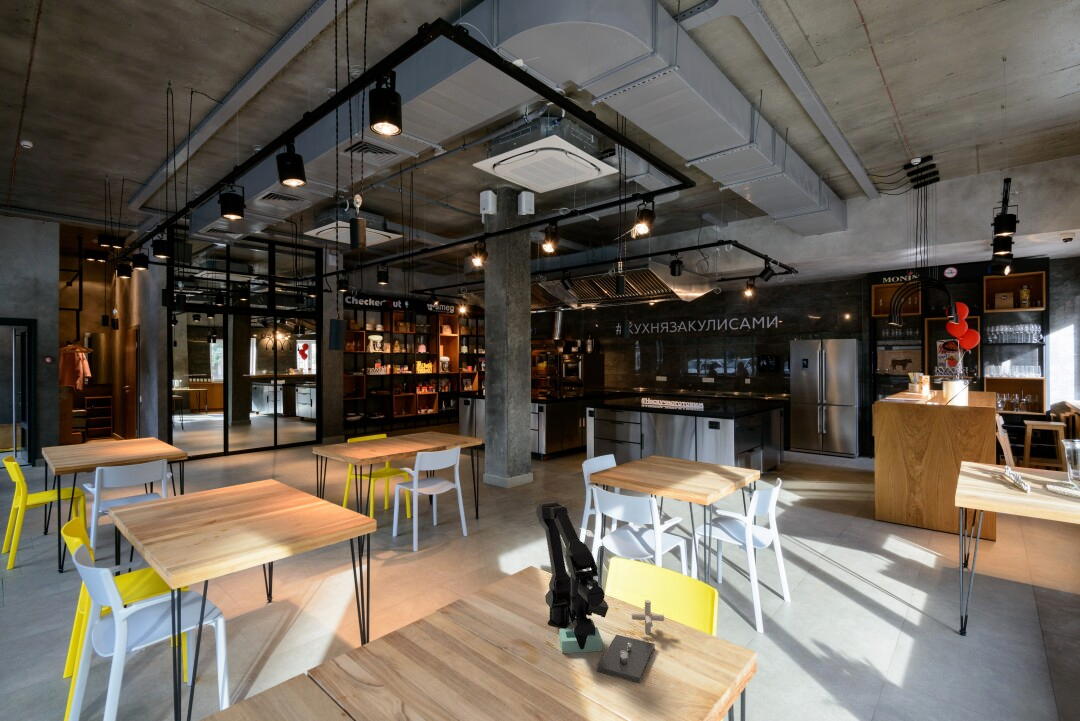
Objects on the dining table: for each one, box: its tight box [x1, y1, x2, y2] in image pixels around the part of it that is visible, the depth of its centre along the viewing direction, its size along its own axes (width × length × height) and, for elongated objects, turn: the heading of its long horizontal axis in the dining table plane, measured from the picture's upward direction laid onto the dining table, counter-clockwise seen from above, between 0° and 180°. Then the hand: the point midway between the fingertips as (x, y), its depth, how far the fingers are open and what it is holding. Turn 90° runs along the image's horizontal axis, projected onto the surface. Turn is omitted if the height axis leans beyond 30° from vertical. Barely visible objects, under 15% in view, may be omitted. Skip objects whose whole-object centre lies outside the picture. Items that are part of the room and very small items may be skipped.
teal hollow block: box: [558, 626, 603, 654], centre depth 155 cm, size 12×7×4 cm, turn 94°
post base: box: [596, 634, 656, 684], centre depth 148 cm, size 12×18×4 cm, turn 154°
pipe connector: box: [631, 599, 665, 635], centre depth 162 cm, size 10×10×10 cm
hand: (580, 642), depth 155 cm, fingers closed on teal hollow block, 7 cm apart
